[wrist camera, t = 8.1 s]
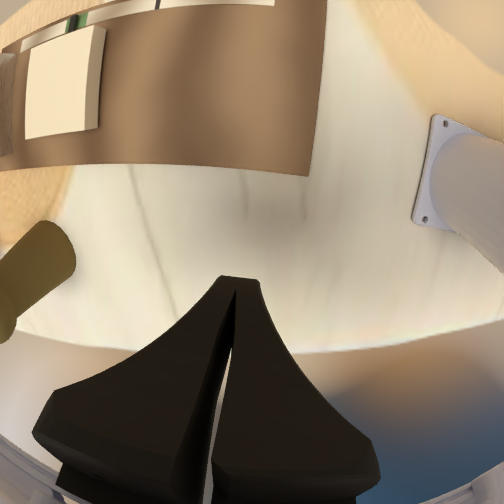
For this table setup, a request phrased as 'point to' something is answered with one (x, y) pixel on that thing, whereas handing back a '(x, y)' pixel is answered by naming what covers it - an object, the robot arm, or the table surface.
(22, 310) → the cork
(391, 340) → the table surface
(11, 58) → the gray stone tile
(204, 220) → the table surface
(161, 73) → the gauge base
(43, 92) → the carriage
